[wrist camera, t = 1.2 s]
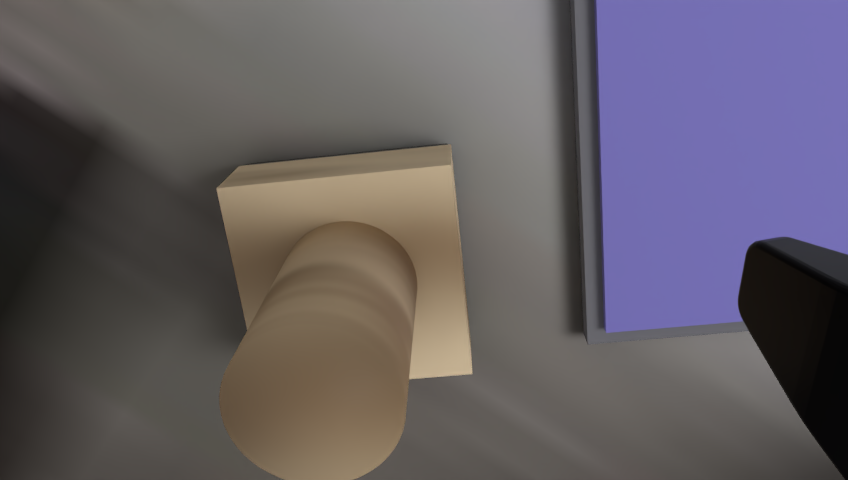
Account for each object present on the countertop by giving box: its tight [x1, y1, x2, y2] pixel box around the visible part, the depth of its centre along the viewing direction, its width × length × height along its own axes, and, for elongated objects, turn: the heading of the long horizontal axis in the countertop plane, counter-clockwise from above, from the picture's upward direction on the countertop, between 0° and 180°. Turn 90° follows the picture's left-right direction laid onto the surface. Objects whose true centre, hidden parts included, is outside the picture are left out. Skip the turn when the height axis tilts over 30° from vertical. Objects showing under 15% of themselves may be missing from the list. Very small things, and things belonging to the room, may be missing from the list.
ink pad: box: [570, 0, 848, 344], centre depth 20 cm, size 11×11×1 cm
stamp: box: [216, 144, 472, 480], centre depth 18 cm, size 6×6×9 cm
